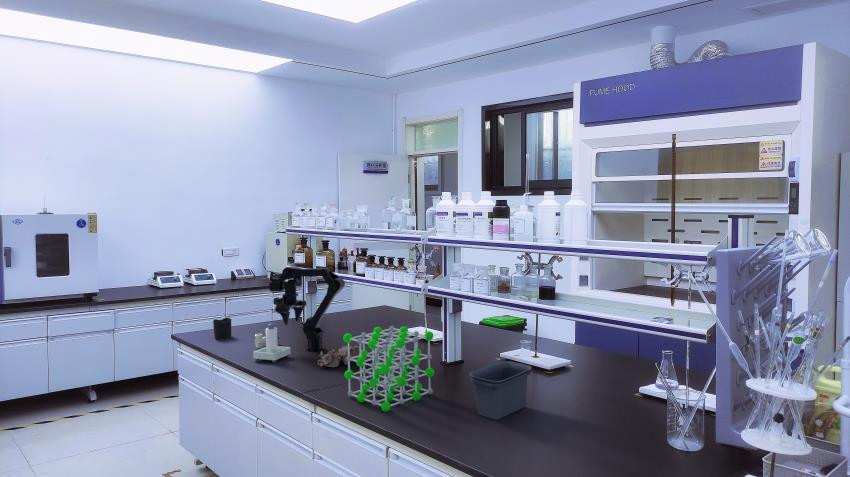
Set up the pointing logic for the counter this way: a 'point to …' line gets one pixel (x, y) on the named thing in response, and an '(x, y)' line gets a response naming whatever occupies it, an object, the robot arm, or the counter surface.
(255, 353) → the shallow mint tray
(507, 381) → the storage bin
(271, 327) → the bottle
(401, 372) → the molecular structure model
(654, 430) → the counter surface
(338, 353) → the mineral formation
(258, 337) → the valve
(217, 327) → the pen holder
